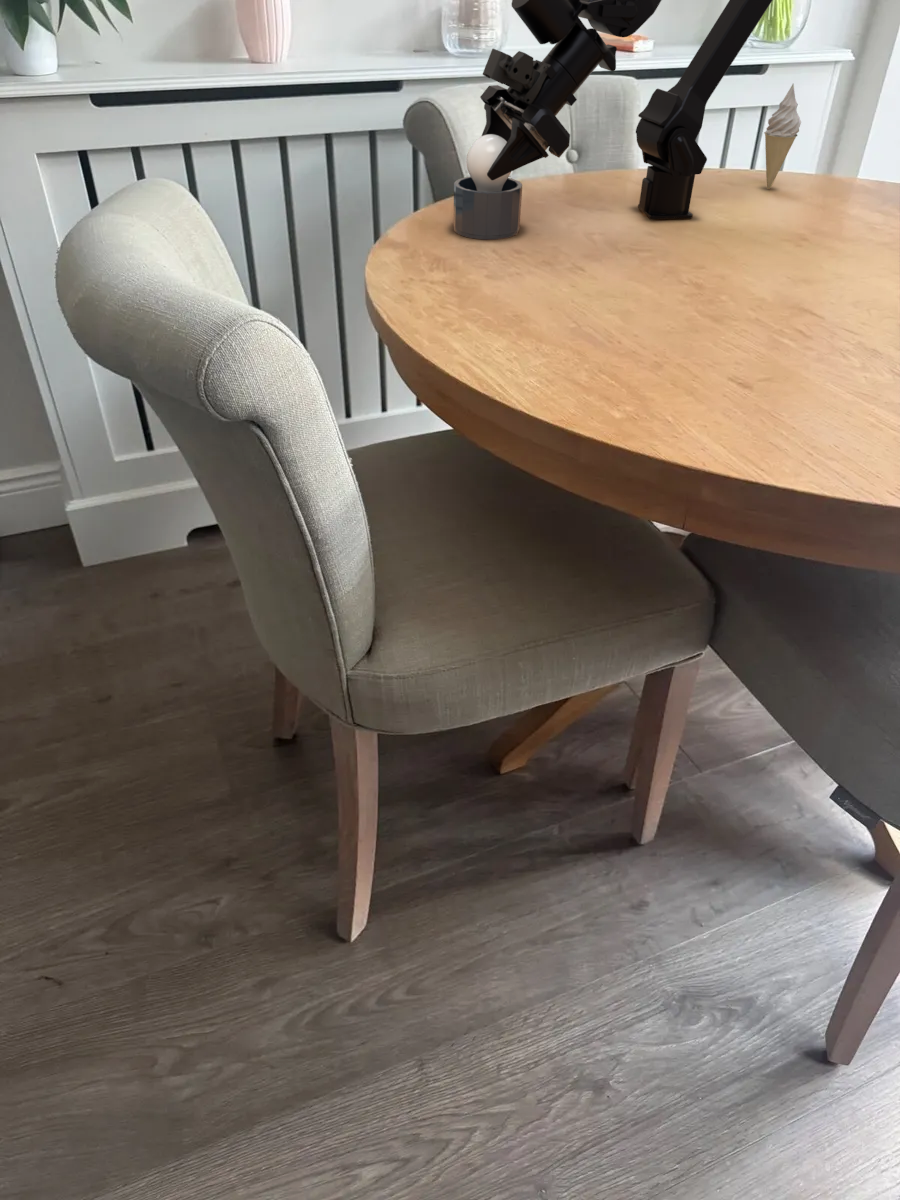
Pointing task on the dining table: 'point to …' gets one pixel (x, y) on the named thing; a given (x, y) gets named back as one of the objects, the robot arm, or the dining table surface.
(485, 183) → the lightbulb
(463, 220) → the tube
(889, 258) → the dining table surface
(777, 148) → the ice cream cone
